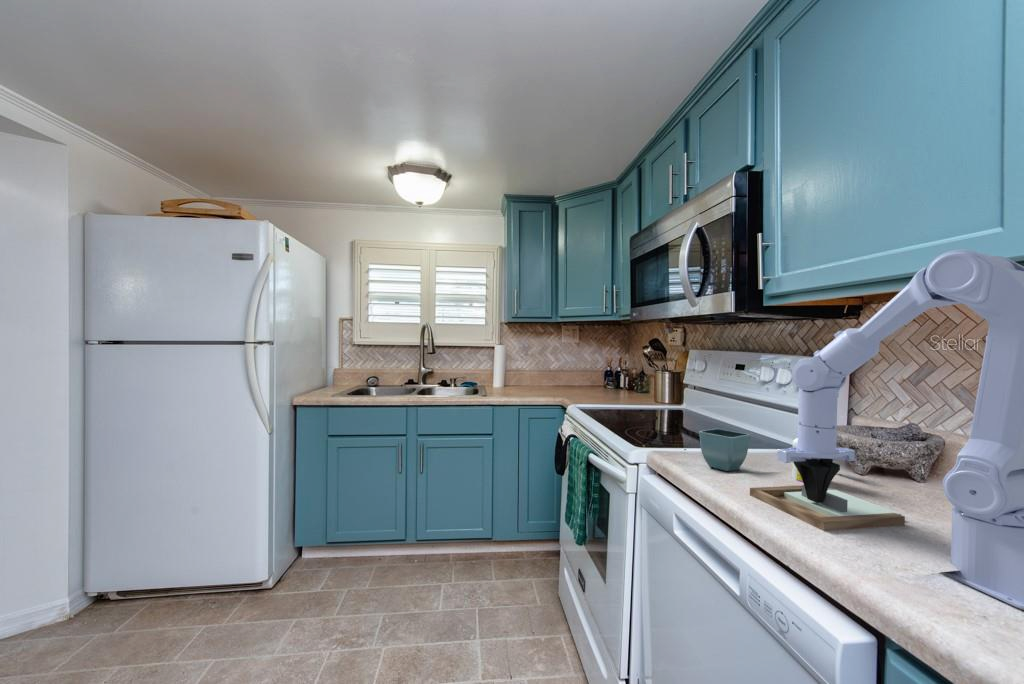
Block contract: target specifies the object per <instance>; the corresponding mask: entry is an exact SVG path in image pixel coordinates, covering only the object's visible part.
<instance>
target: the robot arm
mask: <svg viewBox="0 0 1024 684" xmlns="http://www.w3.org/2000/svg"><path fill="white" fill-rule="evenodd" d="M959 304H962V305H965V306H966V307H968V308H969V309H970V310H971V311H972V312H975V313H976V314H977V315H978V316H979V317H981V318H982V319H984V320H985V321H987V323H988V329H987V336H986V340H985V341H986V342H985V346H984V352H983V359H982V363H981V369H980V370H981V371H980V376H979V382H978V386H977V387H978V388H977V392H976V399H975V403H974V404H975V405H974V411H973V416H972V417H973V418H972V422H971V426H970V427H971V428H970V434H969V439H968V440H967V441H966V443H965V445H964V446H963V447H962V448H961V449H960V451H959V452H958V454H957V456H956V461H955V464H954V467H952V469H951V470H949V471H948V472H947V473H946V474H945V475H944V477H943V480H942V489H943V493H944V496H945V497H946V499H947V500H948V501H949V502H950V503H951V532H950V541H951V543H950V563H951V565H952V566H953V567H954V568H956V569H957V570H949V571H941V572H939V573H941V574H942V575H944V576H947V577H949V578H951V579H953V580H956V581H958V582H960V583H962V584H965V585H966V586H969V587H971V588H973V589H976V590H978V591H980V592H982V593H984V594H987V595H989V596H991V597H994V598H995V599H998V600H1000V601H1003V602H1004V603H1006V604H1009V605H1011V606H1014V607H1015V608H1018V609H1020V610H1023V611H1024V266H1023V265H1021V264H1019V263H1018V262H1016V261H1014V260H1012V259H1011V258H1008V257H1004V256H999V255H990V254H983V253H979V252H977V251H975V250H970V249H955V250H954V249H953V250H949V251H947V252H944V253H942V254H940V255H939V256H936V257H935V258H934V259H933V260H932V261H931V262H930V263H929V265H928V266H927V267H926V266H925V267H923V268H921V269H920V270H919V271H917V272H916V273H915V274H914V275H913V277H912V279H910V281H909V283H907V285H906V286H905V287H904V288H903V289H901V290H900V291H899V292H898V293H897V294H896V295H895V296H894V297H892V298H891V299H890V301H888V302H887V303H886V304H885V305H883V306H882V307H881V309H880V310H878V311H877V312H876V313H875V314H874V315H873V316H872V317H871V318H870V319H868V320H867V321H866V322H865V323H864V324H862V326H860V328H855V327H853V328H851V327H850V328H846V329H845V330H838V331H837V332H836V333H834V334H833V336H834V339H833V340H832V341H831V342H829V343H828V344H827V345H825V346H824V347H823V348H822V349H821V350H820V349H819V350H816V351H815V352H813V357H803V358H800V359H798V361H797V362H796V363H795V365H794V366H793V367H792V370H791V379H792V381H793V383H794V385H795V386H796V387H797V388H798V405H797V407H798V408H797V409H798V410H797V413H798V414H797V415H798V416H797V420H798V421H797V438H798V445H794V447H792V446H791V447H789V448H782V449H777V461H779V462H783V463H785V464H792V462H793V463H794V465H795V466H796V468H797V470H798V471H799V473H800V476H801V478H802V480H803V482H802V483H803V485H804V487H805V490H806V494H807V498H808V499H809V500H811V501H814V502H816V503H823V501H824V498H825V495H826V492H827V490H829V487H830V485H831V483H832V481H833V480H834V478H835V476H836V475H837V474H838V472H839V471H841V465H840V464H839V463H836V462H833V461H850V462H851V461H852V462H853V461H855V460H856V459H855V455H856V454H855V449H851V448H847V447H837V439H838V438H837V436H838V435H837V432H838V431H837V430H838V398H839V395H840V394H839V393H840V390H841V388H842V387H844V386H845V383H846V381H847V378H848V376H849V375H851V374H852V373H853V372H854V371H856V370H857V369H859V368H860V367H861V366H863V365H864V364H866V363H867V362H868V361H870V360H871V359H872V358H874V357H875V356H877V355H878V354H879V352H880V342H881V341H883V340H885V339H886V338H888V337H889V336H890V335H892V334H894V333H895V332H896V331H898V330H899V329H900V328H903V327H904V326H905V325H907V324H908V323H909V322H911V321H912V320H914V319H915V318H917V317H918V316H920V315H921V314H923V313H924V312H926V311H928V310H929V309H933V308H935V309H936V308H940V307H948V306H952V305H959Z"/></svg>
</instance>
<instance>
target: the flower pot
mask: <svg viewBox="0 0 1024 684" xmlns="http://www.w3.org/2000/svg"><path fill="white" fill-rule="evenodd" d="M698 434H699V443H700V444H699V445H700V451H701V454H702V457H703V459H704V461H705V462H706V464H707V465H708V467H710V468H712V467H713V468H714V469H716V470H717V469H718V470H721V471H723V472H731V471H736V470H739V469H740V468H741V466H742V465H743V463H744V462H745V460H746V458H747V454H748V451H749V446H750V445H749V444H750V438H751V434H748V433H744V432H738V431H733V430H727V429H723V428H722V429H721V428H712V429H706V430H699V431H698Z"/></svg>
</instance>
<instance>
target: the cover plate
mask: <svg viewBox="0 0 1024 684" xmlns="http://www.w3.org/2000/svg"><path fill="white" fill-rule="evenodd" d="M801 486H802V492H784V498H786V499H788V500H791V501H793V502H795V503H797V504H800V505H802V506H804V507H806V508H809V509H811V510H813V511H816V512H818V513H820V514H822V515H825V516H827V517H835V516H851V515H867V514H883V513H897V514H899V515H902V513H900V512H898V511H895V510H892V509H890V508H887V507H884V506H882V505H878V504H876V503H873V502H870V501H867V500H865V499H862V498H859V497H856V496H853V495H850V494H848V493H846V492H842V491H840V490H839V489H838V490H837V489H828V490H827V492H826V495H825V498H824V501H823V503H816V502H814V501H811V500H809V499H808V498H807V494H806V490H805V487H804V484H802V485H801Z"/></svg>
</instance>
